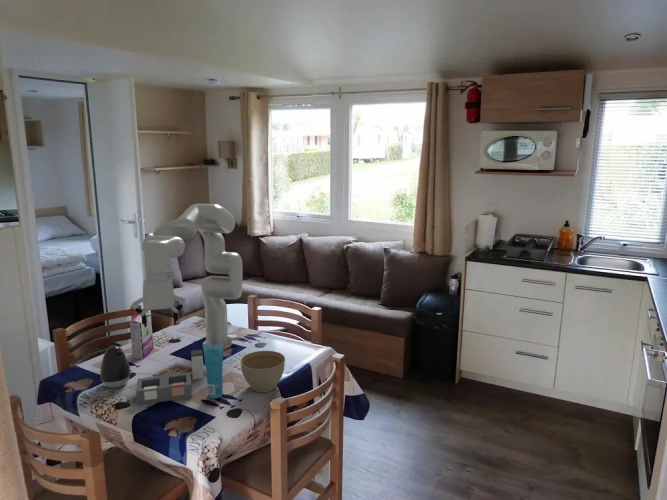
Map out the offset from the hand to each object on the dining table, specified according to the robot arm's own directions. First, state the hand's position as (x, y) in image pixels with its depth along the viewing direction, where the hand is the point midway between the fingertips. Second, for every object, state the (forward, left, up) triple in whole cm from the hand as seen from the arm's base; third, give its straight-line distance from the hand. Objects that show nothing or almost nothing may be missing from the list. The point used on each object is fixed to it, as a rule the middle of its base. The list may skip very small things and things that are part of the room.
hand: (160, 324), depth 171 cm
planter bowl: (-35, +5, -27) cm, 44 cm away
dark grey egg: (+17, -13, -26) cm, 34 cm away
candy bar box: (+9, -40, -27) cm, 49 cm away
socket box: (0, 0, -26) cm, 26 cm away
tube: (-17, +6, -26) cm, 32 cm away
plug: (-12, -11, -26) cm, 31 cm away
